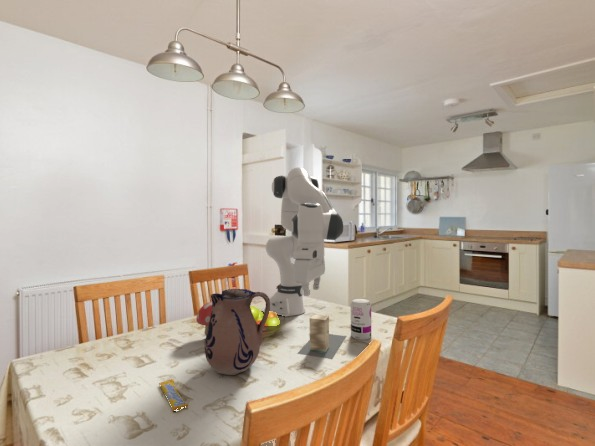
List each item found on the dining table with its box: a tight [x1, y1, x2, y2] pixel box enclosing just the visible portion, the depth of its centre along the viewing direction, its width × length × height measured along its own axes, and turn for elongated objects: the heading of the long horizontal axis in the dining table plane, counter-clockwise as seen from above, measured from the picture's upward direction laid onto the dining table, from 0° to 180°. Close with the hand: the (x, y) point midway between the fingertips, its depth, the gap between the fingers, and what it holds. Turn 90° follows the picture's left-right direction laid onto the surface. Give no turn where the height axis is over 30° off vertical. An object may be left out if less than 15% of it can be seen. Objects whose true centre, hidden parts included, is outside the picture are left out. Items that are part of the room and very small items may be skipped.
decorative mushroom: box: [195, 301, 212, 336], centre depth 131 cm, size 13×13×15 cm
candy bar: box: [158, 378, 189, 412], centre depth 89 cm, size 17×4×2 cm, turn 35°
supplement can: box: [350, 298, 372, 341], centre depth 130 cm, size 8×8×15 cm
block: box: [309, 314, 330, 353], centre depth 118 cm, size 6×4×12 cm
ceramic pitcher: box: [204, 288, 270, 376], centre depth 105 cm, size 18×21×25 cm
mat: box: [296, 333, 347, 360], centre depth 123 cm, size 13×22×1 cm, turn 158°
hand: (311, 292), depth 107 cm, fingers open, 8 cm apart
